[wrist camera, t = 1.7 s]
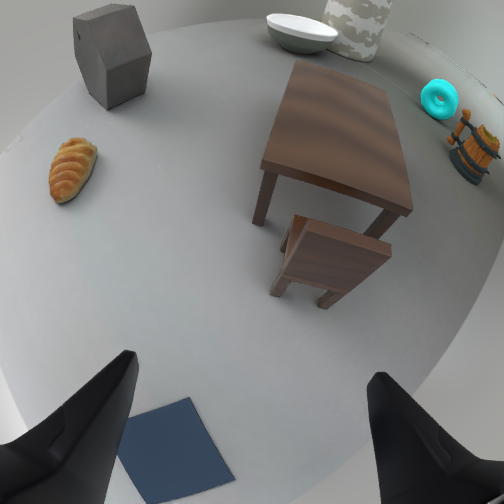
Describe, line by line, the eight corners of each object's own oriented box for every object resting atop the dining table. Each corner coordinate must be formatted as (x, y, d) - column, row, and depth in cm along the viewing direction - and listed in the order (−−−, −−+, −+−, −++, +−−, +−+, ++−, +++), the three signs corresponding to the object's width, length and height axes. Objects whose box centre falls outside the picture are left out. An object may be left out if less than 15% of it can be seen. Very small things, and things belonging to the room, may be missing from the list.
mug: (482, 176, 46) (509, 145, 35) (476, 192, 42) (508, 158, 31) (444, 137, 49) (467, 103, 39) (434, 148, 45) (461, 109, 35)
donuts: (448, 118, 56) (464, 93, 47) (444, 128, 52) (463, 100, 43) (420, 97, 58) (434, 71, 49) (413, 104, 54) (429, 75, 45)
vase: (382, 68, 63) (421, -28, 29) (329, 55, 59) (364, -56, 26) (353, 42, 72) (381, -40, 38) (305, 32, 68) (330, -60, 34)
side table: (365, 259, 30) (413, 210, 22) (247, 225, 30) (261, 159, 22) (362, 136, 42) (385, 90, 33) (283, 110, 42) (296, 59, 33)
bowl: (305, 38, 65) (311, 16, 57) (344, 63, 58) (353, 39, 51) (250, 37, 59) (254, 12, 52) (285, 61, 52) (292, 32, 45)
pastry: (87, 202, 29) (76, 182, 26) (44, 209, 28) (32, 191, 25) (100, 150, 33) (94, 130, 30) (61, 158, 32) (53, 140, 29)
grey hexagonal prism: (163, 82, 35) (126, -18, 22) (118, 102, 32) (79, -5, 19) (131, 99, 46) (102, 21, 34) (98, 116, 43) (67, 35, 31)
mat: (234, 478, 18) (235, 479, 18) (148, 504, 16) (147, 505, 15) (189, 397, 22) (189, 397, 21) (103, 425, 19) (103, 425, 19)
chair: (327, 309, 27) (391, 256, 16) (269, 295, 27) (306, 230, 16) (333, 258, 30) (387, 189, 19) (281, 243, 30) (316, 163, 19)
